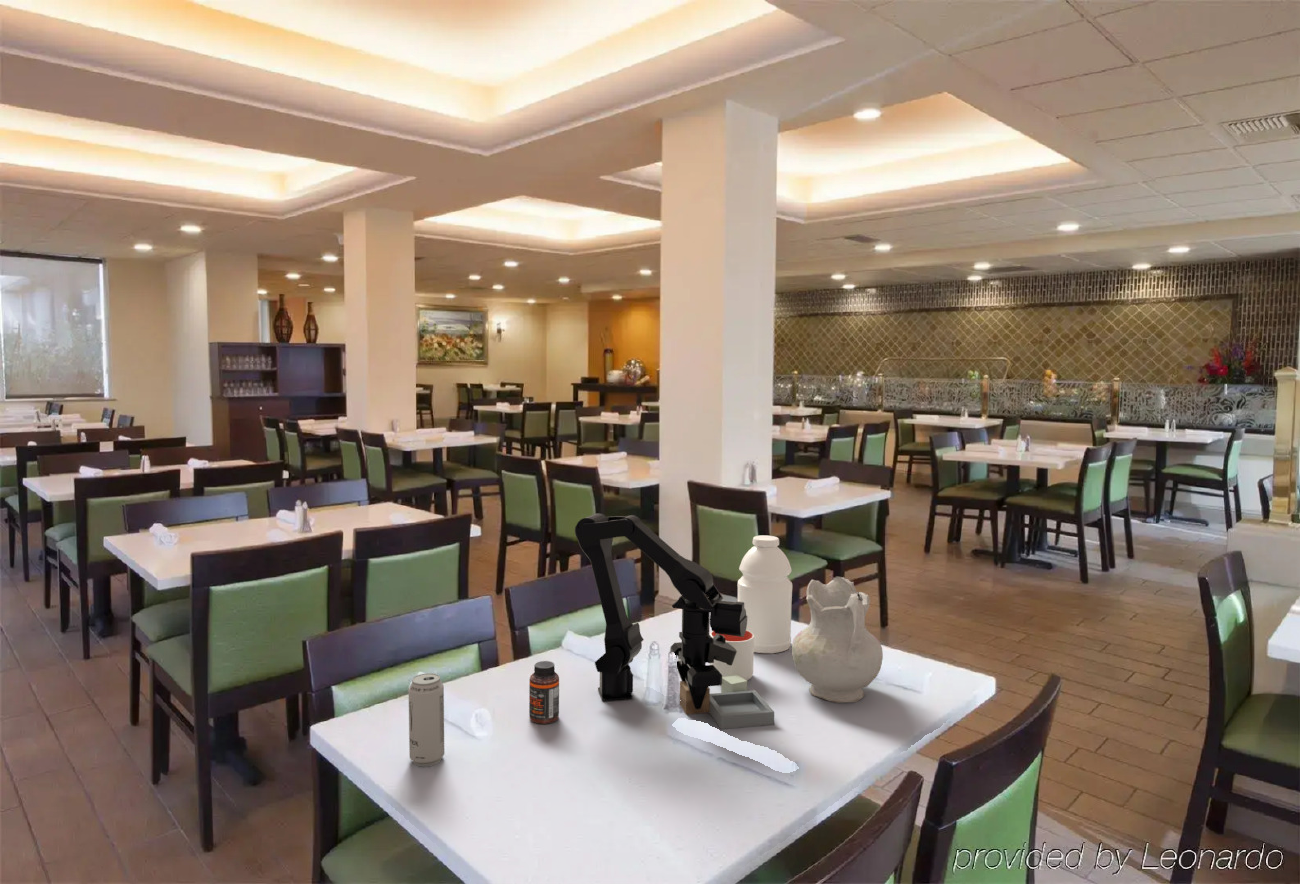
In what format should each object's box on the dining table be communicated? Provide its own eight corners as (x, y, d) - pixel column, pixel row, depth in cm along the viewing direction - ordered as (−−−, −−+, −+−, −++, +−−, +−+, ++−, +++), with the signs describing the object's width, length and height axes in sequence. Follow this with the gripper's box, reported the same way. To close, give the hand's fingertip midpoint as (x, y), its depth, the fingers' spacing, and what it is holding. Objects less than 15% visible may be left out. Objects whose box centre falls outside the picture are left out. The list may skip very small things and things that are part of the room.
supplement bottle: (523, 721, 159) (522, 666, 158) (540, 710, 165) (540, 656, 164) (547, 727, 157) (547, 671, 156) (564, 716, 162) (565, 661, 161)
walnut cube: (685, 714, 163) (686, 690, 163) (679, 704, 168) (679, 681, 168) (709, 712, 164) (709, 688, 164) (702, 702, 169) (702, 679, 169)
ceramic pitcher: (905, 712, 168) (917, 596, 166) (826, 719, 160) (838, 597, 159) (843, 676, 188) (854, 572, 186) (771, 681, 181) (781, 572, 179)
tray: (721, 729, 157) (721, 716, 156) (705, 706, 167) (705, 694, 167) (774, 724, 159) (774, 711, 159) (754, 701, 170) (755, 690, 170)
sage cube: (731, 702, 170) (731, 684, 169) (721, 695, 173) (721, 677, 173) (746, 698, 172) (747, 680, 171) (736, 692, 175) (736, 674, 175)
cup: (755, 685, 179) (756, 642, 178) (710, 684, 179) (711, 641, 178) (750, 669, 189) (751, 627, 188) (708, 668, 189) (708, 627, 188)
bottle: (729, 637, 211) (731, 532, 209) (779, 634, 214) (782, 531, 211) (745, 655, 197) (748, 544, 195) (798, 652, 200) (802, 542, 197)
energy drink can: (408, 754, 145) (407, 674, 144) (442, 749, 147) (441, 670, 146) (410, 770, 139) (409, 686, 138) (446, 764, 141) (445, 682, 140)
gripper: (747, 642, 158) (746, 719, 159) (719, 614, 176) (718, 683, 177) (693, 646, 155) (692, 723, 156) (670, 617, 173) (669, 687, 175)
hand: (694, 703), depth 166 cm, fingers closed on walnut cube, 5 cm apart
